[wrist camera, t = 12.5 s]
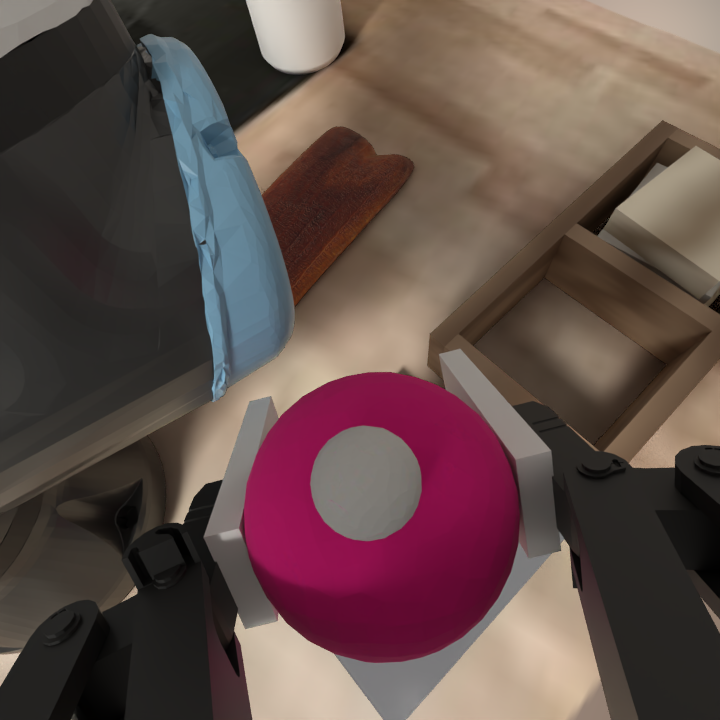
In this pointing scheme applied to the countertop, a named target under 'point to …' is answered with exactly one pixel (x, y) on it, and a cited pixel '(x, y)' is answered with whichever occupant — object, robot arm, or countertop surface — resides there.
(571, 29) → the countertop surface
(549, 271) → the tray
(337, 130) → the wooden tablet
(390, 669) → the slate tile
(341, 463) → the pepper mill
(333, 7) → the alcohol
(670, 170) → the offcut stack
